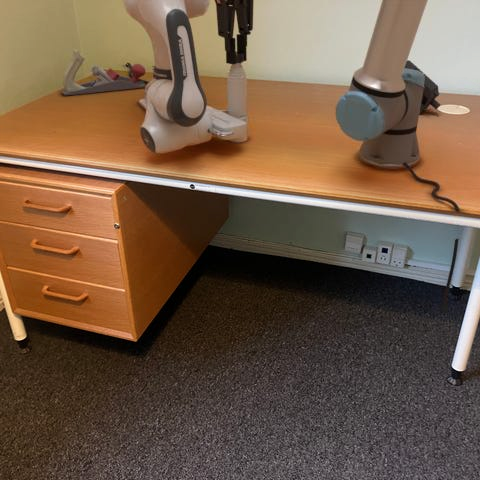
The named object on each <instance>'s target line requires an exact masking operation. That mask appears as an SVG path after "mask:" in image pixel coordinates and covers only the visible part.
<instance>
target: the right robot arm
mask: <svg viewBox="0 0 480 480" xmlns="http://www.w3.org/2000/svg"><path fill="white" fill-rule="evenodd" d="M214 3H215V7H216V8H215V9H216V10H215V11H216V24H217V34H218V35H217V36H218V37H221V38H223V39H224V51H225V64H228V65H232V64H233V65H235V64H236V52H243V53H244V62H247V48H248V36H251V33H252V31H253V29H254V0H214ZM427 3H428V0H381V3H380V7H379V11H378V14H377V17H376V20H375V24H374V27H373V29H372V30H373V31H372V34H371V37H370V41H369V44H368V47H367V51H366V55H365V58H364V62H363V65H362V67H360V68H358V69H357V70H355V71H354V73H353V74H352V78H351V82H350V85H349V88H348V91H347V92H345V93H344V94H342V95H341V97H340V98H339V99H338V101H337V102H336V106H335V112H334V113H335V120H336V122H337V124H338V126H339V127H340V130H341V131H342V132H343V133H344V134H345V136H347V137H348V138H350V139H352V140H354V141H357V142H362V143H361V145H360V147H359V151H358V159H359V160H360V162H362V163H363V164H364V165H367V166H369V167H372V168H374V169H378V170H385V171H403V170H408V171H409V173H410V174H411V175H412V177H413V178H414V179H415V180H417V181H418V182H421V183H425V184H430V185H434V186H435V187H434V189H433V190H432V191H431V195H432V197H433V198H435V199H437V200H439V201H444V202H447V203H449V204H451V205H452V206H453V207H454V209H455V211H456V213H457V212H458V213H460V212H461V210H460V208H459V206H458V204H457V203H456V201H454V200H453V199H451V198H448V197H444V196H440V195H438V194H436V193H437V192H438V190H440V188H441V187H440V184H439V183H438V182H437V181H434V180H430V179H424V178H421V177H419V176H418V175H417V174H416V173H415V172H414V169H412V168H414V167H416V166H418V164H419V163H420V158H421V156H420V155H421V153H420V151H421V150H420V146H419V140H418V135H417V130H418V124H419V119H420V114H421V113H420V107H421V101H422V95H423V90H424V87H425V86H424V80H425V76H424V74H425V73H424V72H423V71H422V72H423V73H422V72H420V71H417V70H413V69H407V68H405V65H406V62H407V60H409V56H410V53H411V50H412V48H413V44H414V41H415V38H416V36H417V34H418V33H417V32H418V30H419V27H420V23H421V21H422V18H423V15H424V12H425V10H426V6H427ZM235 20H236V21H235ZM235 22H237V30H238V33H237V34H236V37H234V30H235ZM459 239H460V238H459V237H458V238H456V239H454V245H453V252H452V260H451V264H450V268H449V273H448V278H447V281H446V285H445V288H444V289H445V290H444V293H443V298H442V303H441V307H440V313H444V312H445V308H446V303H447V299H448V295H449V291H450V286H451V282H452V279H453V274H454V270H455V265H456V261H457V260H456V259H457V254H458V249H459Z"/></svg>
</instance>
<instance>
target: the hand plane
mask: <svg viewBox="0 0 480 480" xmlns="http://www.w3.org/2000/svg"><path fill="white" fill-rule="evenodd" d="M85 59H86V58H85V56H84V55H83V54H82V53H81V52H80V51H79V50H77V49H76V48H73V50H72V58H71V62H70V63H69V65H68V67H67V68H66V70H65V72H64V74H63V80H62V84H63V88H62V90H61V93H62V95H63V96H74V95H84V94H94V93H104V92H112V91H113V92H114V91H121V90H132V89H142V88H145V87H146V83H144V82H143V81H137V80H138V79H141V78H142V77H144V76H145V75H146V68H145V66H143V65H141V64H139V63H134V64H133V65H131V66H132V72H131V73H132V75H133V76H132V77H126V76H123V75H120V74H119V73H117V72H116V71H114V70H113V69H112V68H111V67H109V68H108V70H107V71H105V70H104V69H103V68H102V67H100V65H94V66H92V68H91V70H90V72H91V75H93V76H94V77H97V78H95V79H90V81H89V82H86V83H80V84H78V83H77V82H76V81H75V78H76V74H77V72H78V71H79V69H80V68H81V66H82V65H83V63H84V61H85Z"/></svg>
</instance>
